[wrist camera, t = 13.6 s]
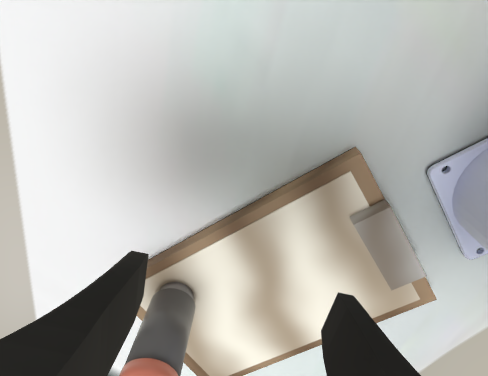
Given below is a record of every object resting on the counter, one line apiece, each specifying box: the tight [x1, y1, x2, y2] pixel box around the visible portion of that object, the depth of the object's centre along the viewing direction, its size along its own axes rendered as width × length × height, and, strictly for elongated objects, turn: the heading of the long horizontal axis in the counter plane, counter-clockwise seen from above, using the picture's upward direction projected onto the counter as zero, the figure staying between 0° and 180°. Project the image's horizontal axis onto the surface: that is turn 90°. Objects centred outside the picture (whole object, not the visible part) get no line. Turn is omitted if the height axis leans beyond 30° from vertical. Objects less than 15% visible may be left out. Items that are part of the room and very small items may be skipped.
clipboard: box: [137, 147, 436, 376], centre depth 24 cm, size 20×13×2 cm, turn 123°
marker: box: [119, 282, 196, 376], centre depth 21 cm, size 3×3×8 cm
